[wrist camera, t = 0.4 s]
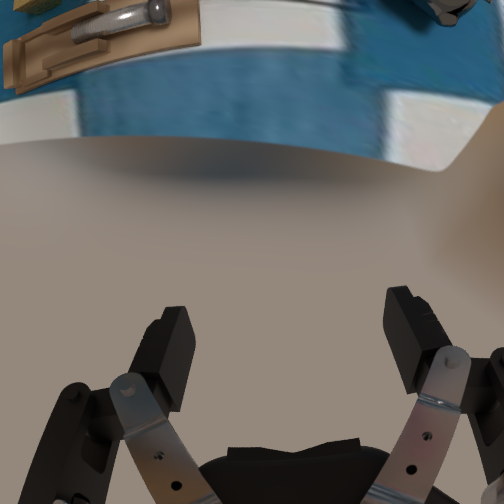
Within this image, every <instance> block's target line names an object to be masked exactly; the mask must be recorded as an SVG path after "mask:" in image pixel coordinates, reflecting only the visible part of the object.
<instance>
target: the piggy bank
mask: <svg viewBox="0 0 504 504" xmlns="http://www.w3.org/2000/svg"><path fill="white" fill-rule="evenodd" d="M409 1H410V2H411V3H412V4H414V5H415V6H416V7H417V8H419V9H420V10H421V11H423V12H424V13H425V14H427V15H428V16H430V17H431V18H432V19H433V20H434V21H435V22H436V23H437V24H438V25H439V26H443V27H454V26H456V24H457V22H458V20H459V19H460V18H461V17H462V16H463V15H465V14H466V13H468V12H469V11H470V10H471V9H472V8H473V7H474V5H475V4H476V2H477V0H409ZM484 1H486V2H488V3H489V4H491V3H492V0H484Z"/></svg>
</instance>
